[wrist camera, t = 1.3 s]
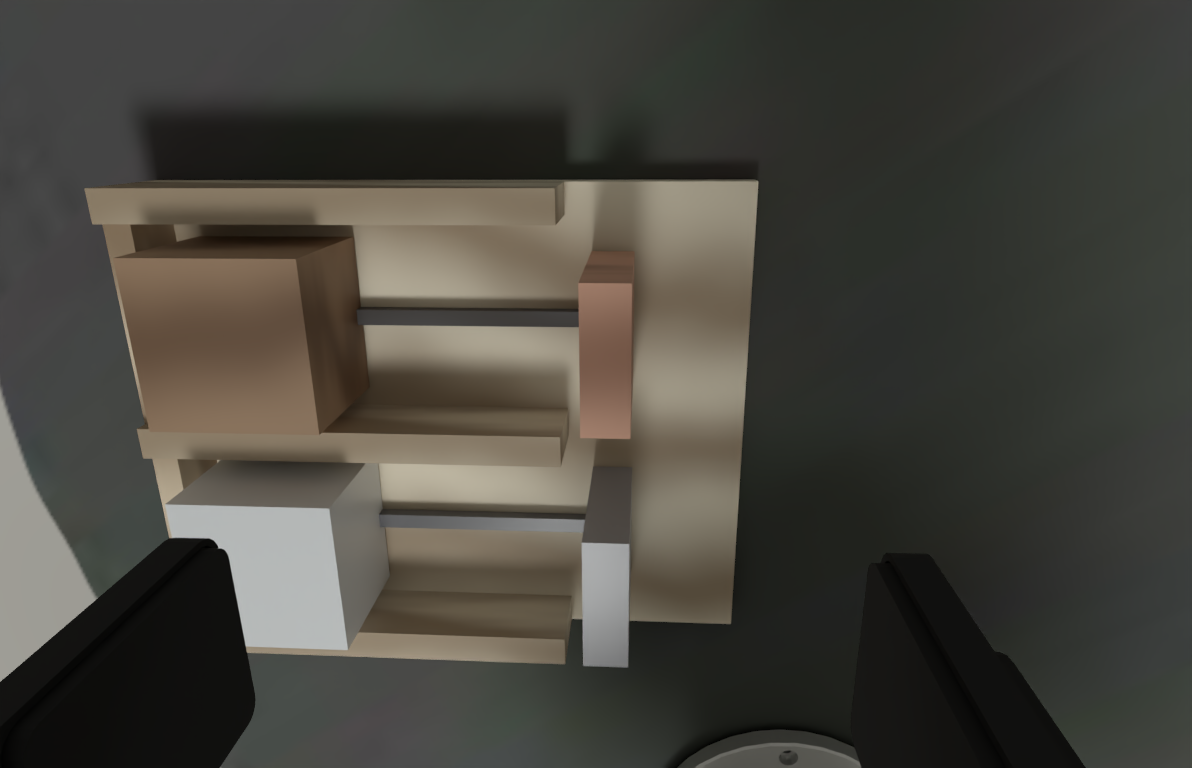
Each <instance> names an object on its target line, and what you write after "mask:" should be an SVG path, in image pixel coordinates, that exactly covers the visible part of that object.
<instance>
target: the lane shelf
mask: <svg viewBox="0 0 1192 768" xmlns="http://www.w3.org/2000/svg"><path fill="white" fill-rule="evenodd" d="M85 193H86V197H87V202H88V206H89V211H90V216H91V220H92V224H103V229H104V233H105V238H106V243H107V247H108V252H109V257H110V261H111V266H112V271H113V276H114V280H115V285H116V290H117V294H118V299H119V304H120V308H121V313H122V318H123V323H124V327H125V332H126V337H127V341H128V346H129V351H130V355H131V360H132V365H133V369H134V374H135V379H136V384H137V388H138V393H139V398H140V402H141V407H142V412H143V416H144V421H145V425H143V426H141V427H140V428H138V429H137V432H138V437H139V441H140V446H141V450H142V455H143V458H152V459H153V463H154V468H155V473H156V477H157V482H158V487H159V491H160V496H161V501H162V506H163V510H164V515H165V520H166V524H167V529H168V534H169V538H172V536H171V531H170V526H169V521H168V517H167V512H166V507H165V504H166V503H167V502H169V501H170V500H171V499H172V498H174V497H175V496H176V495H177V494H179V493H180V492H181V491H182V490H184V489H185V488H186V487H188V486H189V485H190V484H191V483H193V482H194V481H195V480H196V479H198V478H199V477H200V476H201V475H203V474H204V473H205V472H206V471H208V470H209V469H210V468H211V467H213V466H214V465H215V464H216V463H218V462H219V461H220V460H246V461H292V462H339V463H378V470H379V479H380V488H381V497H382V507H383V509H407V510H446V511H486V512H526V513H566V514H586V510H587V504H588V497H589V490H590V484H591V477H592V470H593V466H598V467H632V528H631V589H630V621H653V622H683V623H713V624H731V614H732V598H733V582H734V566H735V550H736V534H737V518H738V502H739V486H740V470H741V454H742V438H743V422H744V406H745V390H746V374H747V358H748V342H749V326H750V310H751V294H752V278H753V262H754V246H755V230H756V213H757V197H758V181H757V180H755V179H705V180H153V181H144V182H135V183H127V184H118V185H109V186H101V187H92V188H85ZM198 236H294V237H353V238H354V247H355V256H356V266H357V275H358V284H359V293H360V303H361V307H438V308H549V309H579V299H578V283H579V280H580V278H581V275H582V273H583V271H584V268H585V266H586V263H587V261H588V259H589V256H590V254H591V251H635V265H634V353H633V395H632V417H631V439H599V438H580V377H579V327H499V326H404V325H363V331H364V340H365V349H366V358H367V368H368V377H369V386H370V387H369V388H368V389H367V390H366V391H365V392H364V393H363V394H362V395H361V396H360V397H359V398H358V399H357V400H356V401H354V402H353V403H352V404H351V405H350V406H349V407H348V408H347V409H346V410H345V411H344V412H343V413H342V414H341V415H340V416H339V417H338V418H337V419H336V420H335V421H334V422H333V423H331V424H330V425H329V426H328V427H327V428H326V429H325V430H324V431H323V432H322V433H321V434H320V435H286V434H234V433H182V432H149V427H148V422H147V417H146V413H145V408H144V403H143V399H142V394H141V389H140V384H139V380H138V375H137V370H136V366H135V361H134V356H133V351H132V347H131V342H130V337H129V332H128V328H127V323H126V318H125V314H124V309H123V304H122V299H121V295H120V290H119V285H118V281H117V276H116V271H115V266H114V262H113V258H115V257H119V256H123V255H127V254H131V253H135V252H139V251H143V250H147V249H151V248H155V247H159V246H163V245H167V244H170V243H174V242H178V241H182V240H186V239H190V238H194V237H198ZM385 535H386V544H387V553H388V562H389V572H390V577H389V578H388V580H387V582H386V584H385V585H384V587H383V589H382V591H381V593H380V594H379V596H378V598H377V600H376V601H375V603H374V605H373V607H372V609H371V610H370V612H369V614H368V616H367V617H366V619H365V621H364V623H363V625H362V626H361V628H360V630H359V632H358V633H357V635H356V637H355V639H354V640H353V642H352V644H351V646H350V648H349V649H348V650H329V649H301V648H274V647H246V650H247V653H272V654H299V655H327V656H354V657H381V658H408V659H435V660H462V661H490V662H517V663H544V664H565V662H566V655H567V648H568V642H569V635H570V628H571V621H572V619H583V612H582V537H583V533H578V532H541V531H503V530H465V529H427V528H390V527H385Z"/></svg>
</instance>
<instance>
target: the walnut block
mask: <svg viewBox="0 0 1192 768" xmlns="http://www.w3.org/2000/svg"><path fill="white" fill-rule="evenodd" d="M113 262H114V266H115V271H116V276H117V281H118V285H119V290H120V295H121V299H122V304H123V309H124V314H125V318H126V323H127V328H128V332H129V337H130V342H131V347H132V351H133V356H134V361H135V366H136V370H137V375H138V380H139V384H140V389H141V394H142V399H143V403H144V408H145V413H146V417H147V422H148V427H149V432H182V433H234V434H286V435H320V434H321V433H322V432H323V431H324V430H325V429H326V428H327V427H328V426H329V425H330V424H331V423H333V422H334V421H335V420H336V419H337V418H338V417H339V416H340V415H341V414H342V413H343V412H344V411H345V410H346V409H347V408H348V407H349V406H350V405H351V404H352V403H353V402H354V401H356V400H357V399H358V398H359V397H360V396H361V395H362V394H363V393H364V392H365V391H366V390H367V389H368V388H369V387H370V386H369V377H368V368H367V358H366V349H365V340H364V331H363V325H404V326H499V327H579V377H580V438H599V439H631V417H632V395H633V353H634V265H635V251H591V254H590V256H589V259H588V261H587V263H586V266H585V268H584V271H583V273H582V275H581V278H580V280H579V283H578V299H579V309H549V308H438V307H361V303H360V293H359V284H358V275H357V266H356V256H355V247H354V238H353V237H294V236H198V237H194V238H190V239H186V240H182V241H178V242H174V243H170V244H167V245H163V246H159V247H155V248H151V249H147V250H143V251H139V252H135V253H131V254H127V255H123V256H119V257H115V258H113Z"/></svg>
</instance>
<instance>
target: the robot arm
mask: <svg viewBox="0 0 1192 768" xmlns="http://www.w3.org/2000/svg"><path fill="white" fill-rule="evenodd" d="M254 708H255V692H254V687H253V682H252V677H251V671H250V666H249V661H248V656H247V650H246V645H245V640H244V635H243V629H242V624H241V619H240V614H239V608H238V603H237V598H236V593H235V587H234V582H233V577H232V572H231V566H230V561H229V557H228V554H227V552H226V551H225V550H224V549H222V548H218V545H217V544H216V543H215V541H214V540H212V539H210V538H169V539H168V540H166V541H164V542H163V543H162V544H161V545H160V546H158V547H157V548H156V549H155V550H154V551H153V552H151V553H150V554H149V555H148V556H147V557H146V558H144V559H143V560H142V561H141V562H140V563H139V564H137V565H136V566H135V567H134V568H133V569H132V570H130V571H129V572H128V573H127V574H126V575H125V576H123V577H122V578H121V579H120V580H119V581H118V582H116V583H115V584H114V585H113V586H112V587H111V588H109V589H108V590H107V591H106V592H105V593H104V594H102V595H101V596H100V597H99V598H98V599H97V600H95V601H94V602H93V603H92V604H91V605H90V606H88V607H87V608H86V609H85V610H84V611H83V612H81V613H80V614H79V615H78V616H77V617H76V618H75V619H73V620H72V621H71V622H70V623H69V624H68V625H66V626H65V627H64V628H63V629H62V630H60V631H59V632H58V633H57V634H56V635H55V636H53V637H52V638H51V639H50V640H49V641H48V642H46V643H45V644H44V645H43V646H42V647H41V648H40V649H39V650H37V651H36V652H35V653H34V654H33V655H31V656H30V657H29V658H28V659H27V660H26V661H25V662H23V663H22V664H21V665H20V666H19V667H17V668H16V669H15V670H14V671H13V672H11V674H9V675H8V676H7V677H6V678H5V679H3V680H2V681H1V682H0V768H220V766H221V765H222V763H223V762H224V760H225V759H226V757H227V756H228V754H229V753H230V751H231V750H232V748H233V747H234V745H235V744H236V742H237V741H238V739H239V738H240V736H241V735H242V733H243V732H244V730H245V729H246V727H247V726H248V724H249V722H250V720H251V718H252V715H253V712H254ZM851 733H852V739H853V744H854V747H855V748H854V747H852V746H850V745H847V744H845V743H843V742H840V741H838V740H835V739H833V738H831V737H827V736H823V735H818V734H814V733H810V732H806V731H793V730H781V729H779V730H765V731H753V732H749V733H745V734H740V735H736V736H731V737H728V738H726V739H723V740H721V741H718V742H716V743H713V744H711V745H708V746H706V747H705V748H703V749H701V750H700V751H698V752H697V753H695V754H693V755H692V756H690V757H688V758H687V759H686V760H685V761H684V762H683V763H682V764H681V765H679V766H678V767H677V768H1085V766H1084V765H1083V763H1082V762H1081V760H1080V759H1079V757H1078V756H1077V755H1076V753H1075V752H1074V750H1073V749H1072V747H1071V746H1070V744H1069V743H1068V741H1067V740H1066V739H1065V737H1064V736H1063V734H1062V733H1061V731H1060V730H1059V728H1058V727H1057V725H1056V724H1055V723H1054V721H1053V720H1052V718H1051V717H1050V715H1049V714H1048V712H1047V711H1046V709H1045V708H1044V707H1043V705H1042V704H1041V702H1040V701H1039V699H1038V698H1037V696H1036V695H1035V693H1034V692H1033V691H1032V689H1031V688H1030V686H1029V685H1028V683H1027V682H1026V680H1025V679H1024V677H1023V676H1022V675H1021V673H1020V672H1019V670H1018V669H1017V667H1016V666H1015V664H1014V663H1013V662H1012V661H1011V660H1010V659H1009V657H1008V656H1007V655H1005V654H1003V653H1000V652H994V650H993V649H992V647H991V646H990V644H989V643H988V641H987V640H986V638H985V637H984V635H983V634H982V632H981V631H980V629H979V628H978V626H977V625H976V623H975V622H974V620H973V619H972V617H971V616H970V614H969V613H968V611H967V610H966V608H965V607H964V605H963V604H962V602H961V601H960V599H959V598H958V596H957V595H956V593H955V592H954V590H953V589H952V587H951V586H950V584H949V583H948V581H947V580H946V578H945V577H944V575H943V574H942V572H941V571H940V569H939V568H938V566H937V565H936V563H935V562H934V560H933V559H932V558H931V556H930V555H928V554H907V553H886V554H885V555H884V556H883V558H882V561H881V563H872V564H870V566H869V569H868V575H867V584H866V592H865V601H864V609H863V618H862V626H861V635H860V643H859V652H858V661H857V669H856V678H855V686H854V695H853V703H852V712H851Z"/></svg>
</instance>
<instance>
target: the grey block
mask: <svg viewBox="0 0 1192 768" xmlns="http://www.w3.org/2000/svg"><path fill="white" fill-rule="evenodd" d="M165 507H166V512H167V517H168V521H169V526H170V531H171V536H172V538H210V539H212V540H214V541H215V543H216V544H217V545H218V548H222V549H224V550H225V551H226V552H227V554H228V557H229V561H230V566H231V572H232V577H233V582H234V587H235V593H236V598H237V603H238V608H239V614H240V619H241V624H242V629H243V635H244V640H245V645H246V647H274V648H301V649H329V650H348V649H349V648H350V646H351V644H352V642H353V640H354V639H355V637H356V635H357V633H358V632H359V630H360V628H361V626H362V625H363V623H364V621H365V619H366V617H367V616H368V614H369V612H370V610H371V609H372V607H373V605H374V603H375V601H376V600H377V598H378V596H379V594H380V593H381V591H382V589H383V587H384V585H385V584H386V582H387V580H388V578H389V577H390V572H389V562H388V553H387V544H386V535H385V527H390V528H427V529H465V530H503V531H541V532H578V533H583V537H582V612H583V666H600V667H627V668H628V654H629V622H630V589H631V528H632V467H598V466H593V470H592V477H591V484H590V490H589V497H588V504H587V510H586V514H566V513H526V512H486V511H446V510H407V509H383V507H382V497H381V488H380V479H379V470H378V463H339V462H292V461H246V460H220V461H219V462H218V463H216V464H215V465H214V466H213V467H211V468H210V469H209V470H208V471H206V472H205V473H204V474H203V475H201V476H200V477H199V478H198V479H196V480H195V481H194V482H193V483H191V484H190V485H189V486H188V487H186V488H185V489H184V490H182V491H181V492H180V493H179V494H177V495H176V496H175V497H174V498H172V499H171V500H170V501H169V502H167V503H166V504H165Z"/></svg>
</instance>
